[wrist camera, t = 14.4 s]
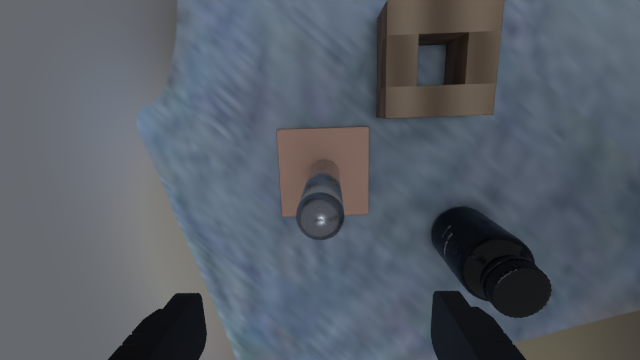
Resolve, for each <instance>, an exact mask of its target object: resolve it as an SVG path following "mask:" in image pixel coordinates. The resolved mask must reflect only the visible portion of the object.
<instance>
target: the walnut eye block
mask: <svg viewBox="0 0 640 360" xmlns="http://www.w3.org/2000/svg"><path fill="white" fill-rule="evenodd" d="M504 1H505V0H387V2H386V4H385V5H384V7H383V9H382V11H381V13H380V14H379V16H378V33H377V117H380V118H409V117H439V116H470V115H493V112H494V102H495V92H496V82H497V72H498V62H499V51H500V41H501V31H502V21H503V11H504ZM441 44H447V47H446V64H445V81H444V85H433V86H417V63H418V45H441Z"/></svg>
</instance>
